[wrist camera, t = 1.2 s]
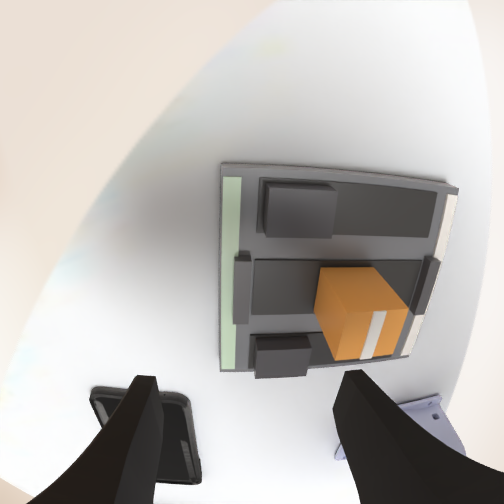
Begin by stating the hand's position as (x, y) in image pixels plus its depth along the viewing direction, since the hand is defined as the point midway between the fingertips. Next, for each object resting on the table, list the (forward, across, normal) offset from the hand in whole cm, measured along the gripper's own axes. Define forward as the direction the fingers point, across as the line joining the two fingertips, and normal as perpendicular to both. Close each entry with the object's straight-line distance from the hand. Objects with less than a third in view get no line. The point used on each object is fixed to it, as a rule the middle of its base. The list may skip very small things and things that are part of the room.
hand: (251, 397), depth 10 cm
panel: (+8, -6, 0) cm, 10 cm away
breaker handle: (+7, -5, 0) cm, 9 cm away
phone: (+9, +7, +17) cm, 20 cm away
